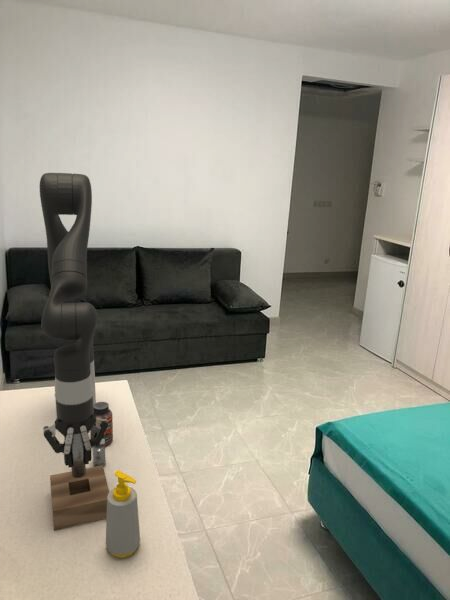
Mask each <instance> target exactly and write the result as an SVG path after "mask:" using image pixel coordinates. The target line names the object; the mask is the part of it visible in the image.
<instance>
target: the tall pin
mask: <svg viewBox="0 0 450 600" xmlns="http://www.w3.org/2000/svg"><path fill="white" fill-rule="evenodd" d="M70 451H71V460H72V467H70V468H71V471H72V476H73V477H74V478H81V477H83V476H84V475H85V474H86V467H87V466H86V465H87V464H85V444H84V441H83V437H82V434H81V433H76V434H73V436H72V442H71V447H70Z"/></svg>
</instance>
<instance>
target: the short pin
mask: <svg viewBox="0 0 450 600" xmlns="http://www.w3.org/2000/svg"><path fill="white" fill-rule="evenodd" d="M92 459H93V461H92V462H93V463H92V464H93V467H96V466H101V465H103V468H104V467H106V460H107V459H106V446H103V445H99V446H94V447H92Z"/></svg>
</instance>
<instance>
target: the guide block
mask: <svg viewBox="0 0 450 600" xmlns="http://www.w3.org/2000/svg"><path fill="white" fill-rule="evenodd" d="M49 481H50V483H49V484H50V494H51V507H52V509H51V510H52V521H53V531H58V530H63V529H66V528H71V527H74V526H80V525H83V524H89V523H93V522H97V521H100V520H101V521H102V520H105V519H107V496H108V493H109V492H110V490H109V486H108V485H109V484H108V481H107V477H106V473H105V469H104V467H103V465H101V466H96V467H94V466H91V467H87V468H86V474H85V475H84V476H83V477H81V478H74V477H73V476H72V470H70V471H66V472H60V473H55V474H50V475H49Z"/></svg>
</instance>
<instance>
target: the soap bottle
mask: <svg viewBox="0 0 450 600" xmlns="http://www.w3.org/2000/svg"><path fill="white" fill-rule="evenodd" d="M114 476H115V477H117V482H118V483H117V484H116V486H115V487H114V488H112V489H110V490H109V493H108V496H107V518H106V521H105V522H106V523H105V524H106V526H105V546H106V549H107V550H108V551H109V553H110V554H111V555H112V556H114V557H115V558H121V559H124V558H126V557H130V556H131V555H132V554H134V553H135V552H136V551H137V548H138V547H139V546H140V542H141V533H140V531H141V530H140V523H139V522H140V519H139V518H140V517H139V505H138V493H137V491H136V489H134V488H133V487H131V486H129V485H128V483H129V484H133V485H134V484H136V482H137V480H136V479H135V478H133V477H132V476H130V475H128V474H126V473H124V472H123V471H121V470H119V469H118V470H115V471H114Z"/></svg>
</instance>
